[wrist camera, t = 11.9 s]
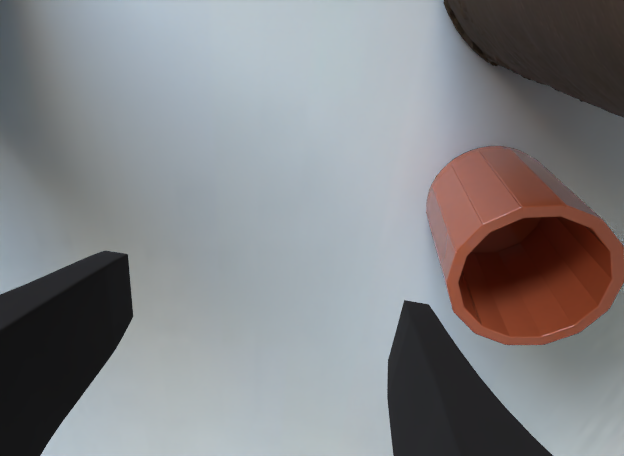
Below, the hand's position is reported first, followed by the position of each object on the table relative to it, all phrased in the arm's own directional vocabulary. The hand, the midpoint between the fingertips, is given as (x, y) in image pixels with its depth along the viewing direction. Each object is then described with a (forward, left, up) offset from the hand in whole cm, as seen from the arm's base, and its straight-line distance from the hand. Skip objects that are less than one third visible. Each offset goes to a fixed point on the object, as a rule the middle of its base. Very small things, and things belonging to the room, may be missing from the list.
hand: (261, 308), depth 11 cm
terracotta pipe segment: (+6, -5, -10) cm, 13 cm away
